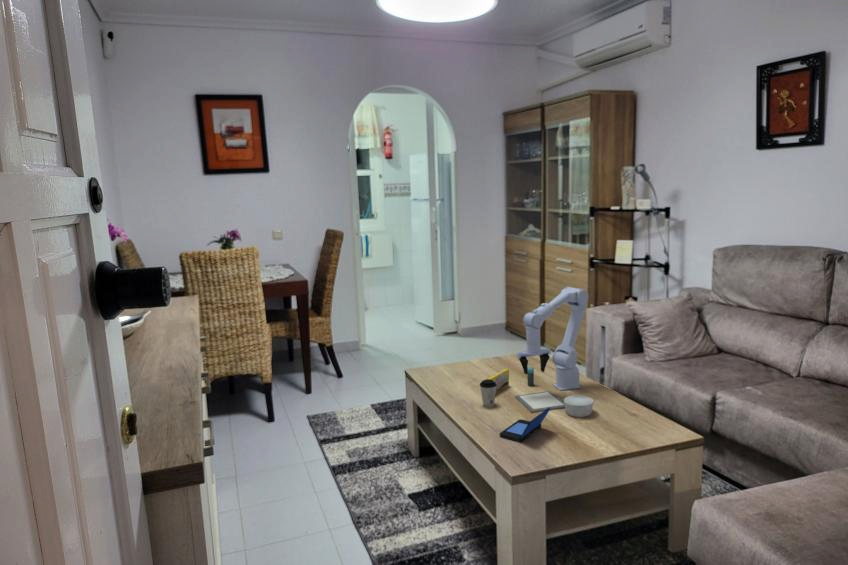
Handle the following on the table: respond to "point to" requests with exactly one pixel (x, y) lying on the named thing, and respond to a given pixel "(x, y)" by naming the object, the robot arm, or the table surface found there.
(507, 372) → the candy box
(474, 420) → the table surface
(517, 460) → the table surface
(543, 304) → the robot arm
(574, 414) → the ramekin
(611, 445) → the table surface
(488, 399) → the coffee cup
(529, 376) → the marker
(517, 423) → the handheld game console
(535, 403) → the sketch board
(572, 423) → the table surface
